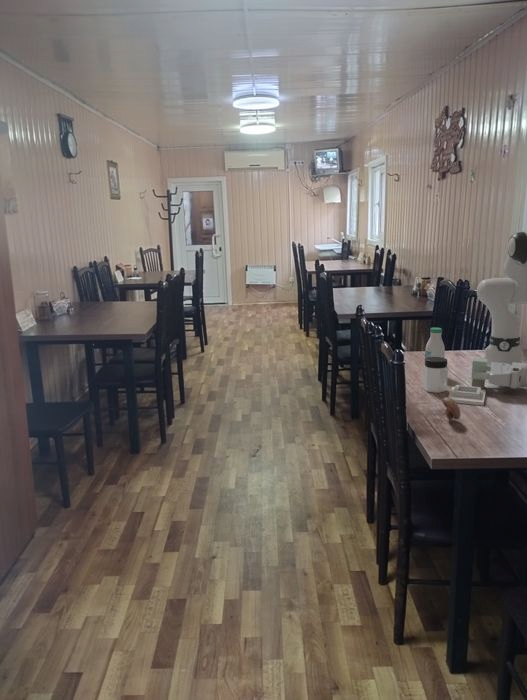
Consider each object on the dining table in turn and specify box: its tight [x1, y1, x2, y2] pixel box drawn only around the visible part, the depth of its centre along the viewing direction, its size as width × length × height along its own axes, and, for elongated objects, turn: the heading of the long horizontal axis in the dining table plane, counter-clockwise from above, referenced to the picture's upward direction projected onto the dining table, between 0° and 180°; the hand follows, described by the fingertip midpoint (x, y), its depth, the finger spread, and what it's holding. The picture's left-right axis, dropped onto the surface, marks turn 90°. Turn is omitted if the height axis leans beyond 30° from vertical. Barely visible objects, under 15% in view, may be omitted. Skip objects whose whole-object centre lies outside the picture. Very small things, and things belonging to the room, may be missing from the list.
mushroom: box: [441, 396, 461, 422], centre depth 181 cm, size 8×6×8 cm
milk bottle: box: [424, 327, 446, 359], centre depth 232 cm, size 8×8×20 cm
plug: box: [471, 357, 488, 390], centre depth 215 cm, size 5×5×11 cm
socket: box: [447, 384, 487, 406], centre depth 205 cm, size 16×12×3 cm
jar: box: [422, 357, 449, 394], centre depth 214 cm, size 9×8×12 cm
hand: (476, 371), depth 216 cm, fingers open, 8 cm apart
